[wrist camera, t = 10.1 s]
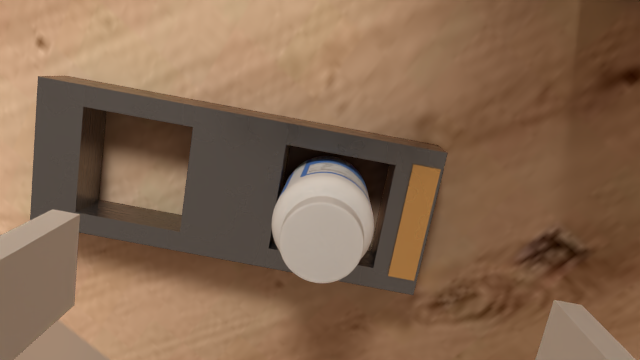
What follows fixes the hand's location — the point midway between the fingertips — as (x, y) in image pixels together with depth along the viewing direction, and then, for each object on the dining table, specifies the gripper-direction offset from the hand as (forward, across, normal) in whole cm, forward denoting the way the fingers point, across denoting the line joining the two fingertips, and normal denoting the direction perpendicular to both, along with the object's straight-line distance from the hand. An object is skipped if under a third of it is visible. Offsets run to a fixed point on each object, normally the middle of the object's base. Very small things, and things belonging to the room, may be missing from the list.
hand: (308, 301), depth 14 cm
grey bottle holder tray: (+19, -5, -2) cm, 20 cm away
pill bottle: (+19, 0, -2) cm, 19 cm away
